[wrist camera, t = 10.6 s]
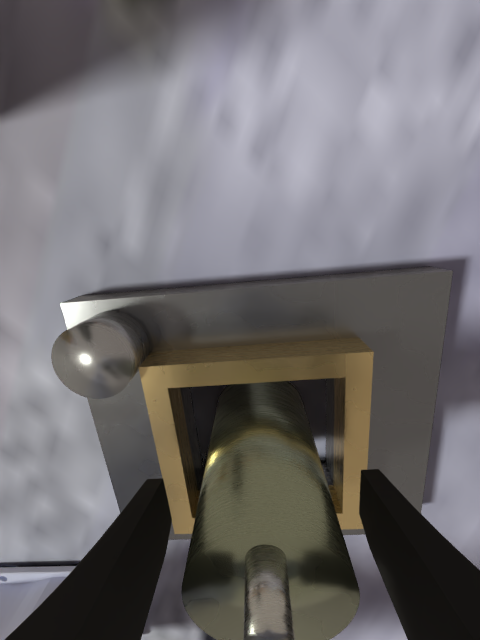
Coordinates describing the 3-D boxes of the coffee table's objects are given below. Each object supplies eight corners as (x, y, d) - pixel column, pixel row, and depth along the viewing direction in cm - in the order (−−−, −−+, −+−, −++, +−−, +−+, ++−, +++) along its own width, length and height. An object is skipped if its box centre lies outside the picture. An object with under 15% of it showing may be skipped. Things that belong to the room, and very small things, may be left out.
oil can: (221, 449, 16) (182, 743, 7) (211, 375, 14) (145, 619, 5) (304, 445, 15) (380, 746, 6) (302, 370, 14) (394, 617, 5)
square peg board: (138, 515, 17) (111, 582, 14) (80, 295, 13) (23, 316, 10) (403, 506, 16) (442, 576, 13) (429, 266, 12) (495, 279, 9)
